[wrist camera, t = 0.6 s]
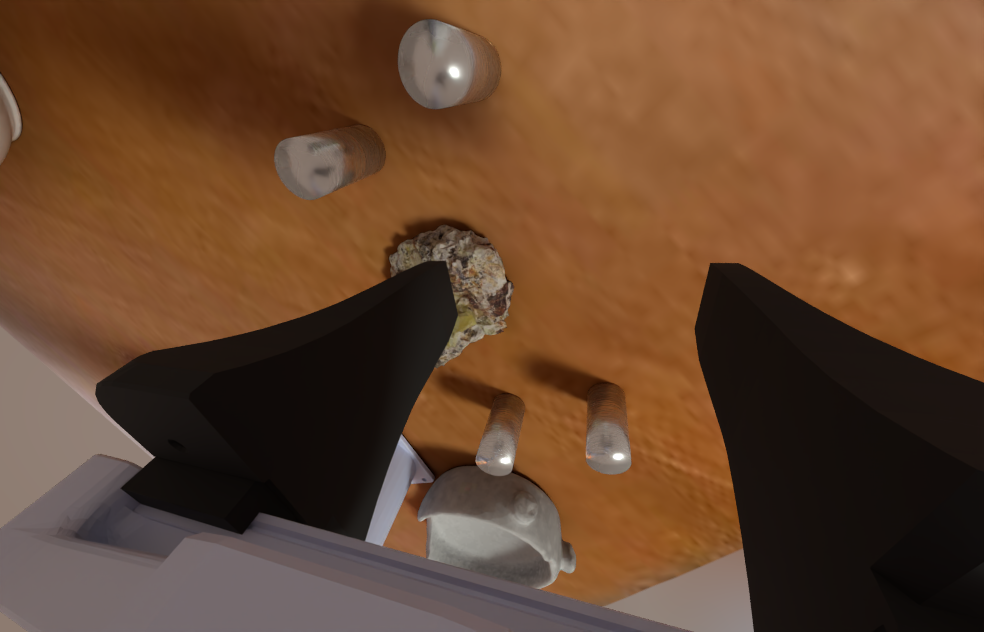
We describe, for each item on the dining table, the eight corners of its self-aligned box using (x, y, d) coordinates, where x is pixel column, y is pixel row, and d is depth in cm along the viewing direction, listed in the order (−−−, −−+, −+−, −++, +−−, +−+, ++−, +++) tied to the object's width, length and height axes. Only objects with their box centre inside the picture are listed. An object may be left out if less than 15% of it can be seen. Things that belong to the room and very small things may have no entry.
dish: (455, 537, 41) (440, 587, 37) (404, 457, 34) (379, 508, 30) (585, 549, 36) (583, 609, 32) (554, 458, 29) (547, 519, 25)
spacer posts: (504, 423, 28) (488, 481, 24) (329, 127, 19) (254, 141, 15) (629, 406, 24) (636, 472, 20) (486, 22, 15) (444, 1, 11)
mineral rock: (388, 197, 18) (516, 293, 16) (440, 185, 21) (550, 264, 20) (352, 337, 24) (442, 414, 23) (396, 311, 28) (477, 377, 26)
